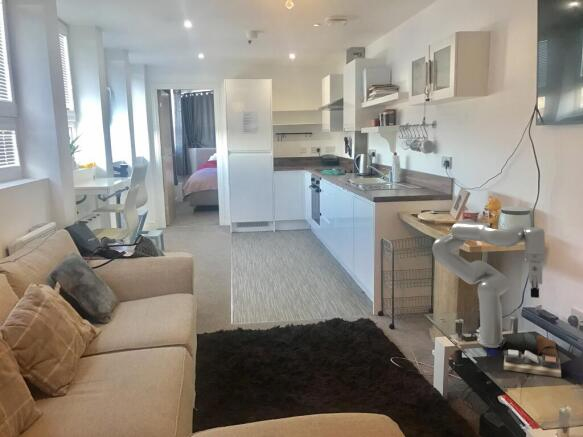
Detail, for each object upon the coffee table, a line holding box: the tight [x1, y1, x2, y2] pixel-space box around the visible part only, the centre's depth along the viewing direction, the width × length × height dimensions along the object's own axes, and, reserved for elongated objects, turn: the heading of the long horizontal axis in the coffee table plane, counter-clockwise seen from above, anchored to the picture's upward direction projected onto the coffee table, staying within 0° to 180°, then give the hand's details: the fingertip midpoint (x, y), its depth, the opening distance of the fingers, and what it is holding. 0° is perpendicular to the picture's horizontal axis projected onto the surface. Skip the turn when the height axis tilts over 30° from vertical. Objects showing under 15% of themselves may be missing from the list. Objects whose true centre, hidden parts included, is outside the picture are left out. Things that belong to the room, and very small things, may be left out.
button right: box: [545, 356, 556, 362], centre depth 191 cm, size 4×4×2 cm
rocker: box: [524, 350, 539, 363], centre depth 194 cm, size 6×4×1 cm
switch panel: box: [503, 349, 562, 378], centre depth 194 cm, size 21×12×4 cm, turn 63°
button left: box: [508, 349, 520, 358], centre depth 197 cm, size 4×4×2 cm
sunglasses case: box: [535, 334, 559, 356], centre depth 206 cm, size 18×7×7 cm
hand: (534, 296), depth 199 cm, fingers closed
